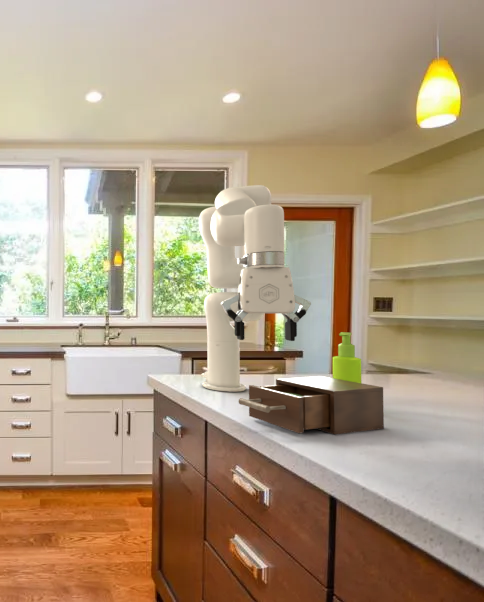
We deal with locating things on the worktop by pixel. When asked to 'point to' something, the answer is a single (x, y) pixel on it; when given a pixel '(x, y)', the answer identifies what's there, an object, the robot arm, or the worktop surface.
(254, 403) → the drawer
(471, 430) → the worktop surface
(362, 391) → the cabinet
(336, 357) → the soap dispenser
